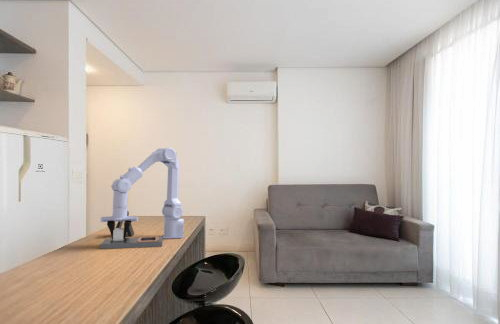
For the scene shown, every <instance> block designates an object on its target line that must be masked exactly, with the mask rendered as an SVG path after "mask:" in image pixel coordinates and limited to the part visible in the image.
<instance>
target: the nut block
mask: <svg viewBox="0 0 500 324" xmlns="http://www.w3.org/2000/svg"><path fill="white" fill-rule="evenodd" d="M124 240H125V239H124V227H121V228H116V227H115V229H114V230H113V242H124Z"/></svg>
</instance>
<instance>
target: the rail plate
mask: <svg viewBox="0 0 500 324" xmlns="http://www.w3.org/2000/svg"><path fill="white" fill-rule="evenodd" d="M163 241H164V240H163V236H139V237H126V238H125V240H124V242H113V239H112V237H111V238H109V237H108V238H105V239H104V240H103V241H102V242H101V243H100V250H108V249H129V248H131V249H133V248H135V249H136V248H152V247H153V248H155V247H157V248H158V247H163Z"/></svg>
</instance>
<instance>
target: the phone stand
mask: <svg viewBox="0 0 500 324" xmlns="http://www.w3.org/2000/svg"><path fill="white" fill-rule="evenodd" d="M129 214H130V213H129V211H128V210H127V216H130V215H129ZM123 224H124V221H120V222H117V223H116V225H115V228H122V226H123ZM134 235H135V231H134V228H133V226H132V223H131V224H130V226H129V228H128V231H127V234H126V238H132V237H133V236H134Z"/></svg>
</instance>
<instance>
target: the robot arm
mask: <svg viewBox="0 0 500 324" xmlns="http://www.w3.org/2000/svg"><path fill="white" fill-rule="evenodd" d="M177 155H178V154H177V151H176V150H174V148H172V147H165V148H160V147H159V148H157V149H155V151H153V152H151V154H149V156H148V157H146V158H145V160H144V161H142V162H141V163H140V164H139V165H138V166H133V167H128V169H127V170H128V171H127V172H125V173H124V174H122V175H120V176H119V178H117V179H115V180H114V181H112V185H111V186H110V187H111V189H112V191H113V197H112V198H113V199H112V216H101V217H100V223H104V222H105V223H106V226H107V227H108V229H109V232H110V236H111V238H112V239H113V230H114V229H115V228H116V222H117V223H118V222H120V221H123V228H124V239H125V238H127V237H126V234H127V231H128V228H129V226H130V224H131V225H132V222H138V221H139V216H136V215H135V216H134V215H129V216H127V211H128V199H129V191H130V190H131V188H132V186H133V185H134V184H135V183H136V182H138V180H140V179H141V178H142V177H143V173H144V172H145V171H147V170H148V169H149V168H150V167H151V166H153V165H154V164H155V163H158V162H161V163H162V164H163V165H165V166H166V167H167V185H166V188H167V189H166V200H165V201H164V203H163V207H162V209H161V213H162V215H163V216H164V227H163V228H164V229H163V234H162V237H163V239H183V238H184V234H185V230H184V228H185V227H184V225H185V222H184V221H185V220H184V218H181V217H182V216H183V213H184V210H183V208H182V202H181V201H180V200H179V186H180V185H179V184H180V183H179V182H180V162H179V159H178V156H177Z"/></svg>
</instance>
